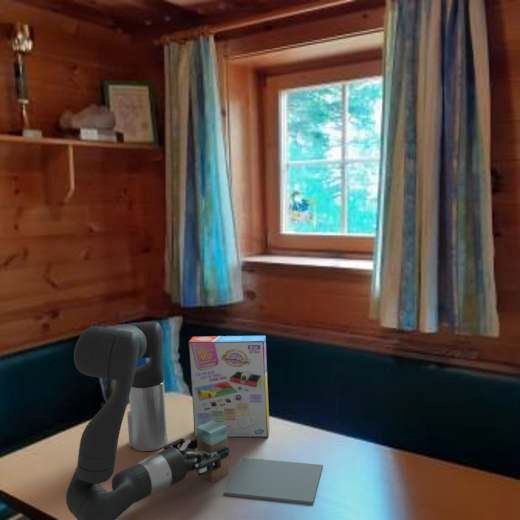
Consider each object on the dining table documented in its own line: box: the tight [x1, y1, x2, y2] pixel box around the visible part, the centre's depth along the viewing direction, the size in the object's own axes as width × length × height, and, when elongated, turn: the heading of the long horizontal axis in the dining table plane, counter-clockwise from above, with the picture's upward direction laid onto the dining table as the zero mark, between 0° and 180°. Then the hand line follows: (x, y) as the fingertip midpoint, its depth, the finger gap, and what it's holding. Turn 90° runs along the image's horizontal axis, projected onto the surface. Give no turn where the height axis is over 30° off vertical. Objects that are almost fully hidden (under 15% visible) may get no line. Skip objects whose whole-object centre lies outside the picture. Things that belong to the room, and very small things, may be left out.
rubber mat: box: [223, 457, 324, 505], centre depth 129 cm, size 20×16×1 cm
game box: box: [188, 335, 270, 438], centre depth 152 cm, size 21×6×27 cm, turn 84°
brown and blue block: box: [196, 420, 230, 483], centre depth 132 cm, size 5×5×12 cm
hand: (215, 444), depth 132 cm, fingers open, 8 cm apart
